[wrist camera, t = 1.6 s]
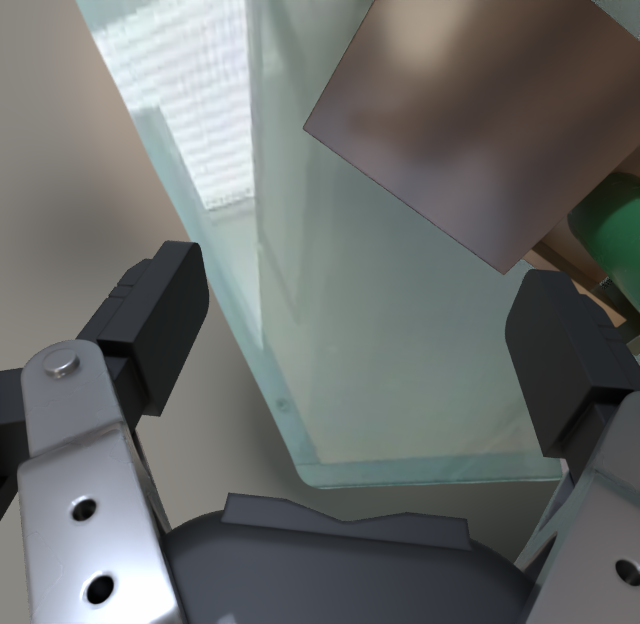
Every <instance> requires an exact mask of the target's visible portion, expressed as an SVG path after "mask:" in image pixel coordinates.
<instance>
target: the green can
mask: <svg viewBox="0 0 640 624" xmlns="http://www.w3.org/2000/svg"><path fill="white" fill-rule="evenodd" d="M567 221H568V226H569V229H570V231H571V233H572V234H573V235H574V237H575V238H576V239H577V240H578V241H579V243H580V244H581V245H582V246H583V247H584V248H585V250H586V251H587V252H588V253H589V254H590V255H591V257H592V258H593V259H594V260H595V261H596V262H597V264H598V265H599V266H600V267H601V268H602V270H603V271H604V272H605V273H606V274H607V275H608V277H609V278H610V279H611V280H612V281H613V282H614V284H615V285H616V286H617V287H618V288H619V289H620V291H621V292H622V293H623V294H624V295H625V296H626V298H627V299H628V300H629V301H630V302H631V304H632V305H633V306H634V307H635V308H636V309H637V311H638V312H639V313H640V177H638V176H636V175H633V174H630V173H612V174H609V175H608V176H607V177H606V178H605V179H604V180H603V181H602V182H601V183H599V184H598V185H597V186H596V187H595V188H594V189H593V190H592V191H591V192H590V193H589V194H588V195H587V196H586V197H585V198H584V199H583V200H582V201H581V202H580V203H579V204H578V205H577V206H575V207H574V208H573V209H572V210H571V211H570V212H569V213H568V216H567Z"/></svg>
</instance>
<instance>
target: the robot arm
mask: <svg viewBox="0 0 640 624" xmlns="http://www.w3.org/2000/svg"><path fill="white" fill-rule="evenodd" d="M208 307H209V289H208V285H207V279H206V273H205V268H204V262H203V257H202V252H201V248H200V246H199V244H198V243H195V242H181V241H169V240H168V241H165V242H164V243H163V245H162V246H161V247H160V249H159V250H158V252H157V253H156V255H155V256H154V257H153V259H144V260H142V261H141V262H139V263H138V264H136V265H135V266H133V267H132V268H130V269H128V270H127V272H126V273H125V274H124V275H123V277H122V278H121V279H120V281H119V282H118V283H117V287H114V289H113V290H112V291H111V293H110V294H109V298H106V299H105V300H104V302H103V303H102V305H101V306H100V307H99V308H98V310H97V311H96V312H95V314H94V315H93V316H92V318H91V319H90V320H89V322H88V323H87V324H86V326H85V327H84V328H83V330H82V331H81V332H80V333H79V335H78V336H77V338H76V339H75V340H67V341H62V342H59V343H56V344H53V345H51V346H49V347H47V348H45V349H43V350H41V351H40V352H38V353H37V354H35V355H34V356H33V357H32V358H31V359H30V360H29V361H28V362H27V363H26V365H25V366H24V368H18V369H11V370H4V371H0V521H1V519H2V517H3V516H4V514H5V512H6V510H7V509H8V507H9V505H10V504H11V502H12V500H13V499H14V497H15V495H16V493H17V492H19V503H20V514H21V524H22V536H23V547H24V557H25V569H26V579H27V591H28V602H29V613H30V624H640V366H639V364H638V363H637V361H636V359H635V358H634V356H633V355H632V353H631V351H630V350H629V348H628V347H627V345H626V343H623V339H622V337H621V335H620V334H619V332H618V331H617V329H614V327H615V326H614V324H613V323H612V321H611V319H610V318H609V316H608V315H607V313H606V311H605V310H604V309H603V308H602V307H601V306H600V305H598V304H597V303H596V302H595V301H594V300H592V299H591V298H590V297H589V296H588V295H586V294H579V292H578V290H577V288H576V287H575V285H574V283H573V282H572V280H571V278H570V276H569V275H568V273H566V272H564V271H552V270H539V269H530V270H529V271H528V272H527V273H526V275H525V277H524V279H523V281H522V284H521V286H520V288H519V291H518V293H517V296H516V298H515V300H514V303H513V305H512V308H511V310H510V312H509V315H508V317H507V321H506V326H505V339H506V343H507V346H508V349H509V352H510V356H511V359H512V362H513V365H514V368H515V371H516V374H517V377H518V380H519V383H520V386H521V389H522V392H523V395H524V398H525V401H526V405H527V408H528V411H529V414H530V417H531V420H532V423H533V426H534V429H535V432H536V435H537V438H538V441H539V444H540V447H541V451H542V454H543V457H551V458H561V459H565V460H566V462H567V465H568V468H569V469H568V470H567V472H566V473H565V474H564V476H563V477H562V479H561V481H560V483H559V485H558V487H557V489H556V491H555V493H554V494H553V497H552V499H551V500H550V502H549V504H548V506H547V508H546V510H545V512H544V514H543V516H542V517H541V519H540V521H539V523H538V525H537V527H536V529H535V531H534V532H533V534H532V536H531V538H530V540H529V541H528V543H527V545H526V547H525V548H524V550H523V551H522V553H521V554H520V556H519V557H518V558H517V560H516V562H515V563H514V564H513V563H511V562H510V561H509V560H508V559H507V558H505V557H504V556H502V555H501V554H499V553H498V552H496V551H494V550H493V549H492V548H490V547H488V546H485V545H484V544H482V543H480V542H478V541H476V540H473V539H471V538H470V537H469V530H468V523H467V519H462V518H453V517H445V516H436V515H426V514H418V513H409V512H405V513H399V514H393V515H387V516H381V517H374V518H368V519H361V520H355V521H341V520H338V519H336V518H333V517H330V516H328V515H325V514H323V513H320V512H318V511H315V510H313V509H310V508H307V507H305V506H302V505H300V504H297V503H295V502H292V501H290V500H287V499H282V498H273V497H264V496H254V495H245V494H236V493H228V497H227V501H226V504H225V508H224V510H220V511H215V512H211V513H208V514H204V515H201V516H199V517H196V518H194V519H192V520H189V521H187V522H185V523H183V524H182V525H180V526H178V527H176V528H174V529H173V530H172V528H171V526H170V523H169V521H168V518H167V515H166V513H165V510H164V508H163V505H162V503H161V500H160V497H159V494H158V491H157V488H156V485H155V483H154V480H153V477H152V474H151V471H150V468H149V465H148V462H147V459H146V456H145V453H144V450H143V447H142V444H141V441H140V438H139V435H138V432H137V430H136V426H137V423H138V422H139V420H140V418H141V416H142V415H149V416H159V417H160V416H161V414H162V411H163V409H164V407H165V405H166V403H167V400H168V398H169V396H170V394H171V392H172V390H173V387H174V385H175V383H176V381H177V379H178V376H179V374H180V372H181V370H182V368H183V365H184V363H185V361H186V359H187V357H188V354H189V352H190V350H191V348H192V346H193V343H194V341H195V339H196V337H197V335H198V332H199V330H200V328H201V326H202V324H203V322H204V319H205V317H206V314H207V311H208Z"/></svg>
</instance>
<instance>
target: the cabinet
mask: <svg viewBox="0 0 640 624" xmlns="http://www.w3.org/2000/svg"><path fill="white" fill-rule="evenodd" d="M303 129H304V130H305V131H306V132H308V133H309V134H310V135H312V136H313V137H315V138H316V139H317V140H319V141H320V142H321V143H323V144H324V145H326V146H327V147H328V148H330V149H331V150H332V151H334V152H335V153H337V154H338V155H339V156H341V157H342V158H343V159H345V160H346V161H348V162H349V163H350V164H352V165H353V166H354V167H356V168H357V169H359V170H360V171H361V172H363V173H364V174H365V175H367V176H368V177H370V178H371V179H372V180H374V181H375V182H376V183H378V184H379V185H381V186H382V187H383V188H385V189H386V190H387V191H389V192H390V193H392V194H393V195H394V196H396V197H397V198H398V199H400V200H401V201H402V202H404V203H405V204H407V205H408V206H409V207H411V208H412V209H413V210H415V211H416V212H418V213H419V214H420V215H422V216H423V217H424V218H426V219H427V220H429V221H430V222H431V223H433V224H434V225H435V226H437V227H438V228H440V229H441V230H442V231H444V232H445V233H446V234H448V235H449V236H451V237H452V238H453V239H455V240H456V241H457V242H459V243H460V244H462V245H463V246H464V247H466V248H467V249H468V250H470V251H471V252H473V253H474V254H475V255H477V256H478V257H479V258H481V259H482V260H484V261H485V262H486V263H488V264H489V265H490V266H492V267H493V268H495V269H496V270H497V271H499V272H500V273H501V274H503V275H505V274H506V273H507V272H508V271H509V270H510V269H511V268H512V267H513V266H514V265H515V264H516V263H517V262H518V261H519V260H520V259H521V258H522V257H523V256H524V255H525V254H526V253H527V252H529V251H530V250H531V249H532V248H533V247H534V246H535V245H536V244H537V243H538V242H539V241H540V240H541V239H542V238H543V237H544V236H545V235H546V234H547V233H548V232H549V231H550V230H551V229H553V228H554V227H555V226H556V225H557V224H558V223H559V222H560V221H561V220H562V219H563V218H564V217H565V216H566V215H567V214H568V213H569V212H570V211H571V210H572V209H573V208H574V207H575V206H577V205H578V204H579V203H580V202H581V201H582V200H583V199H584V198H585V197H586V196H587V195H588V194H589V193H590V192H591V191H592V190H593V189H594V188H595V187H596V186H597V185H598V184H599V183H601V182H602V181H603V180H604V179H605V178H606V177H607V176H608V175H609V174H610V173H611V172H612V171H613V170H614V169H615V168H616V167H617V166H618V165H619V164H620V163H621V162H622V161H623V160H625V159H626V158H627V157H628V156H629V155H630V154H631V153H632V152H633V151H634V150H635V149H636V148H637V147H638V146H639V145H640V41H639V40H637V39H636V38H635V37H634V36H633V35H632V34H630V33H629V32H628V31H627V30H626V29H624V28H623V27H622V26H621V25H620V24H619V23H617V22H616V21H615V20H614V19H613V18H612V17H610V16H609V15H608V14H607V13H606V12H604V11H603V10H602V9H601V8H600V7H599V6H597V5H596V4H595V3H594V2H593V1H591V0H374V2H373V3H372V5H371V7H370V9H369V11H368V12H367V14H366V16H365V18H364V20H363V21H362V23H361V25H360V27H359V28H358V30H357V32H356V34H355V36H354V37H353V39H352V41H351V43H350V44H349V46H348V48H347V50H346V52H345V53H344V55H343V57H342V59H341V60H340V62H339V64H338V66H337V68H336V69H335V71H334V73H333V75H332V77H331V78H330V80H329V82H328V84H327V85H326V87H325V89H324V91H323V93H322V94H321V96H320V98H319V100H318V101H317V103H316V105H315V107H314V109H313V110H312V112H311V114H310V116H309V117H308V119H307V121H306V123H305V125H304V126H303Z"/></svg>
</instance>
